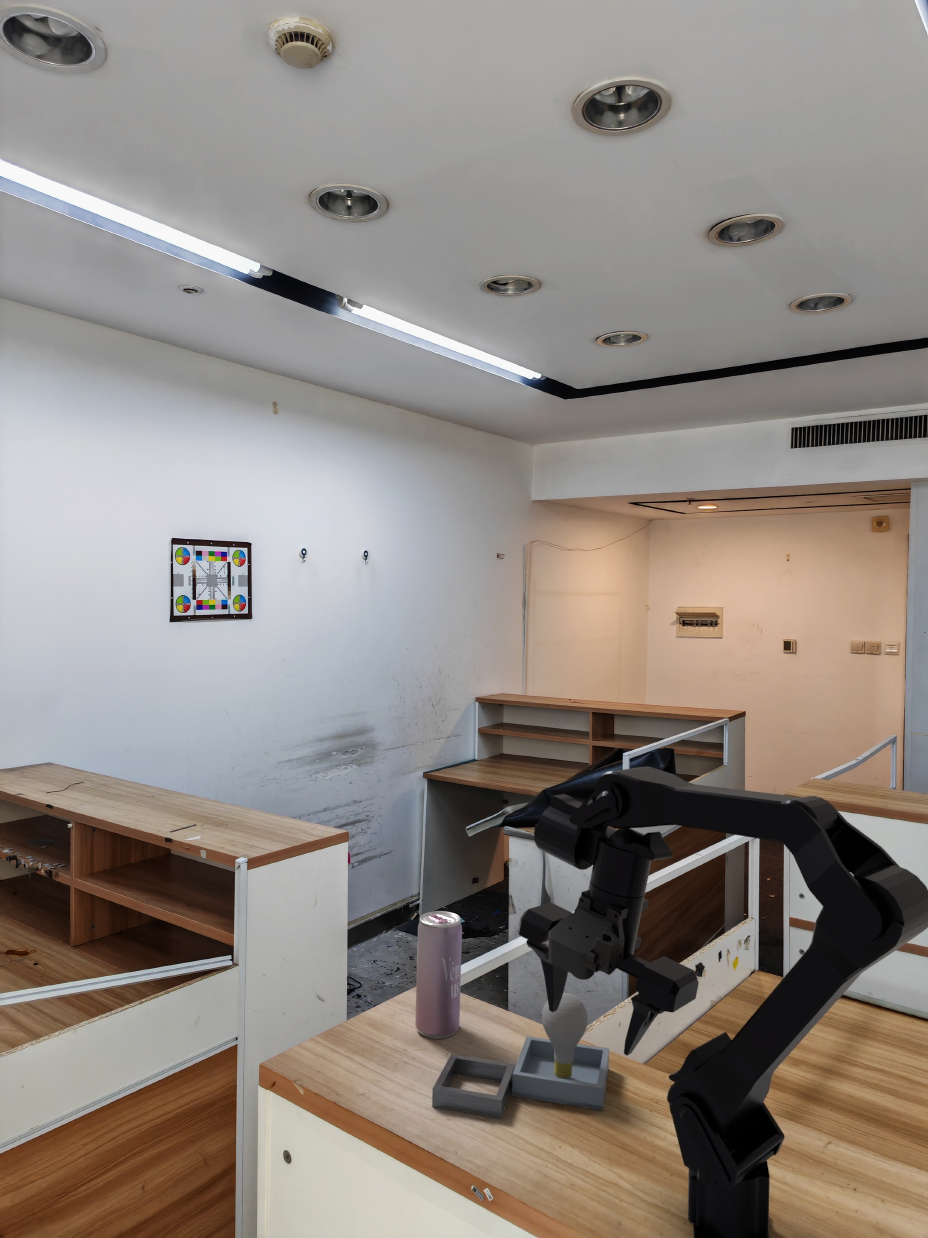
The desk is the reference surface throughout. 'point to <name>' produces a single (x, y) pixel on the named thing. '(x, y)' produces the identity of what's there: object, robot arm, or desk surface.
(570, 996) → the light bulb
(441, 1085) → the frame
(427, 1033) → the beverage can
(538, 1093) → the parts tray
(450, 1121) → the desk surface
